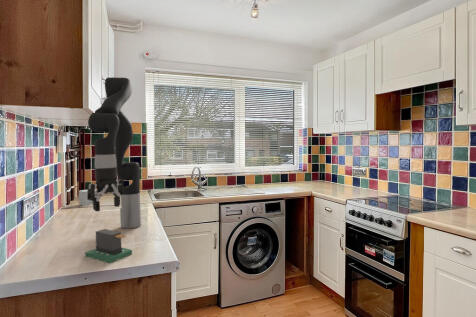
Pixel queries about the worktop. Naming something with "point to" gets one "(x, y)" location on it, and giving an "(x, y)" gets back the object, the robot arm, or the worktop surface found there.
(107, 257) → the header board
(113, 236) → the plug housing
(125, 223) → the robot arm
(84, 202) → the skincare box
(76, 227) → the worktop surface
